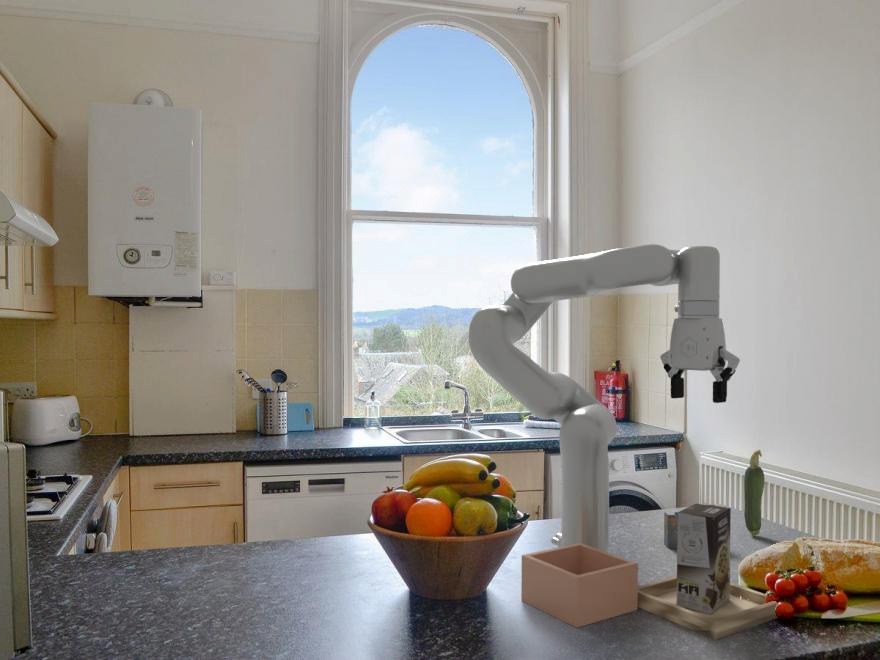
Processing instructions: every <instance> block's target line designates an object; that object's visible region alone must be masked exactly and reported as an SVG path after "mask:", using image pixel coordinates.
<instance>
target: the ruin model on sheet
mask: <svg viewBox="0 0 880 660" xmlns="http://www.w3.org/2000/svg"><path fill="white" fill-rule="evenodd" d="M704 505H712V506H716V505H715V503H714V502H713V504H706V502H704ZM678 512H679V511H674V514H669V513H668V512H666V511H664V513H663V515H664V517H663V518H664V519H663V521H664V524H663V525H664V526H663V527H664V528H663V532H664V533H663V540H664V541H663V542H664V543H663V545H664V546H665V547H666V548H667V549H677V532H678Z"/></svg>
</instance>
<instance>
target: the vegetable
mask: <svg viewBox="0 0 880 660" xmlns="http://www.w3.org/2000/svg"><path fill="white" fill-rule="evenodd" d="M762 456H763V455H762V451H761V449H758V450H755V451H753V454H751V456H750V457H749V458H750V460H749V466H748V467H747V468H746V469H745V472H744V476H743V477H744V481H743V483H744V485H743V490H744V493H743V494H744V495H743V496H744V498H743V499H744V500H743V501H744V511H743V513H744V522H745V527H746V528H747V531H748V532H749V534H750V535H751V536H752V537H755V536H758V535H759V533H760V530H761V528H762V510H761V509H762V507H761V506H762V505H761V504H762V497H763V495H764V488H765V480H766V479H765V473H764V470H763V469H762V467H761V466H760V458H761V457H762Z"/></svg>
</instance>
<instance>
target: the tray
mask: <svg viewBox="0 0 880 660" xmlns="http://www.w3.org/2000/svg"><path fill="white" fill-rule="evenodd" d="M766 595H767V594H765V593H763V592H760V591H757V590H754V589H751V588H747V587H745V586H742V585H739V584H736V583H733V582H730V600H729V601H728V602H726V603H725V604H724V605H723V606H722V607H720V608H719V609H718V610H717V611H716V612H714V613H713V614H707V613H703V612H700V611H696V610H692V609H688V608H684V607H680V606H678V605H676V601H677V575H675V576H670V577H668V578H664V579H660V580H656V581H652V582H648V583H645V584H641V585H638V604H637V608H638V609H642V610H643V611H646V612H649V613H651V614H654V615H656V616H658V617H660V618H664V619H666V620H668V621H671V622H673V623H675V624H677V625H679V626H681V627H685V628H687V629H690V630H691V631H695V632H696V633H699V634H702V635H705V636H706V637H709V638H712V639H714V640H717V641H718V640H720V639H723V638H726V637H728V636H730V635H734V634H736V633H737V634H738V633H739V632H743V631H745V630H748V629H750V628H753V627H756V626H759V625H762V624H764V623H767V622H770V621H773V620H775V619H779V618H778V617H777V616H776V613H775V606H776V604H777V602H776V601H771V602H768V603H765V597H766ZM740 596H741V597H742V598H741V600H740ZM748 599H749V600H748Z"/></svg>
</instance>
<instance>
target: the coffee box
mask: <svg viewBox="0 0 880 660" xmlns="http://www.w3.org/2000/svg"><path fill="white" fill-rule="evenodd" d="M731 509H732V508H731V507H726V506H719V505H715V506H712V505H705V504H701V503H694V504H692V505H690V506H688V507H686V508H684V509H681V510H680V511H677V512H678V532H677V548H676V549H677V550H676V554H677V555H676V576H677V601H676V605H678V606H680V607H684V608H688V609H692V610H696V611H700V612H703V613H707V614H713V613H714V612H716V611H717V610H718V609H719V608H720V607H722V606H723V605H724V604H725V603H726V602H728V601H729V600H730V583H731V514H732V513H731V512H732V510H731Z"/></svg>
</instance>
